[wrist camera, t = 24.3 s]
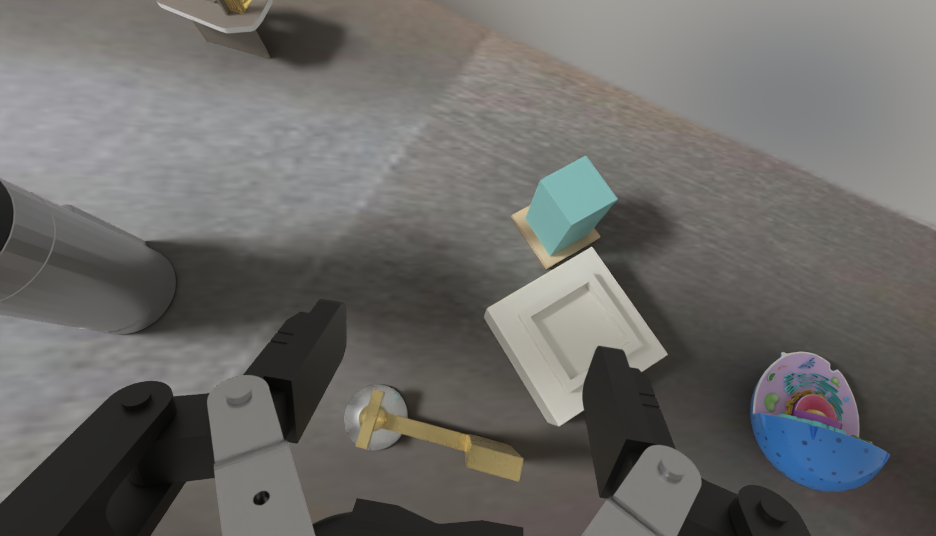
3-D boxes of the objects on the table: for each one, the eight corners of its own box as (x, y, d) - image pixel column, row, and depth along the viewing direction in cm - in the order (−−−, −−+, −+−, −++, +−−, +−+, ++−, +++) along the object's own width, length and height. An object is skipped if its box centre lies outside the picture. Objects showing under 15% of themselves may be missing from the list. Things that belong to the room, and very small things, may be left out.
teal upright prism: (525, 218, 47) (540, 180, 39) (562, 198, 48) (585, 155, 40) (550, 256, 46) (571, 225, 38) (588, 234, 47) (617, 199, 38)
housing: (483, 317, 45) (487, 305, 39) (578, 261, 47) (595, 242, 41) (547, 422, 42) (562, 427, 36) (645, 358, 44) (674, 353, 38)
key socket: (334, 405, 42) (333, 405, 42) (389, 372, 43) (388, 372, 43) (362, 462, 41) (362, 463, 40) (418, 427, 42) (418, 428, 41)
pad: (511, 217, 48) (512, 215, 48) (563, 188, 49) (564, 186, 49) (546, 269, 47) (547, 268, 46) (599, 238, 48) (600, 236, 47)
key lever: (355, 440, 41) (326, 453, 32) (371, 387, 42) (348, 386, 33) (501, 481, 40) (513, 506, 31) (513, 425, 42) (528, 435, 33)
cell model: (834, 375, 44) (933, 370, 35) (816, 496, 41) (920, 526, 32) (738, 339, 45) (810, 325, 36) (713, 455, 42) (786, 473, 33)
